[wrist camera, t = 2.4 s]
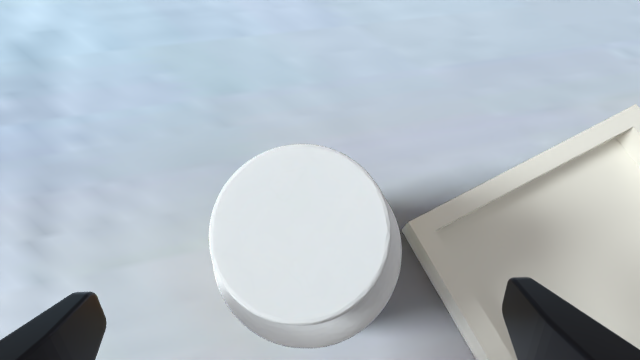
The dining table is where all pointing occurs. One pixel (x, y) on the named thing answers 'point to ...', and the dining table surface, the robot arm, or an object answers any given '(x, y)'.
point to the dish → (543, 236)
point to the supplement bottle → (304, 246)
